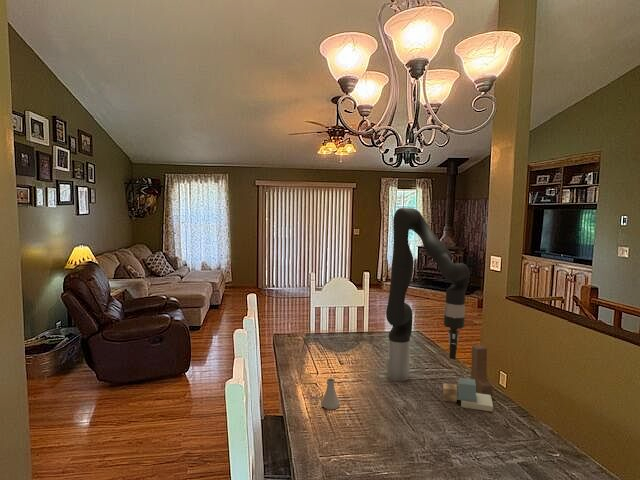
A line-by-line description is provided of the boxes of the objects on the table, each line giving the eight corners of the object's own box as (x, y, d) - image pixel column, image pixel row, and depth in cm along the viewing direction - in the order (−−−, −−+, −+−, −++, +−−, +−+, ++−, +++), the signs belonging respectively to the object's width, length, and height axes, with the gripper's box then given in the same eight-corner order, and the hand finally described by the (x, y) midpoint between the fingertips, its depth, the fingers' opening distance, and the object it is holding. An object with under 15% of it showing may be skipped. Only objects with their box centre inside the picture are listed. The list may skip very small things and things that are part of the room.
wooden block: (492, 396, 160) (493, 352, 159) (481, 396, 159) (483, 352, 158) (480, 386, 169) (481, 344, 167) (470, 387, 168) (471, 345, 167)
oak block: (443, 400, 156) (443, 388, 155) (443, 395, 160) (443, 383, 160) (456, 402, 154) (456, 390, 154) (456, 397, 159) (456, 384, 158)
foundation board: (456, 406, 151) (456, 401, 151) (456, 395, 160) (456, 390, 160) (492, 411, 147) (493, 406, 147) (490, 399, 156) (490, 394, 156)
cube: (458, 398, 152) (459, 383, 152) (458, 392, 158) (458, 377, 158) (475, 401, 150) (475, 385, 150) (474, 394, 156) (475, 379, 156)
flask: (342, 403, 153) (342, 377, 152) (336, 411, 146) (337, 385, 146) (324, 400, 155) (324, 375, 155) (318, 408, 149) (318, 382, 148)
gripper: (444, 309, 163) (442, 348, 164) (444, 318, 149) (442, 360, 150) (464, 311, 160) (462, 350, 162) (465, 320, 147) (463, 362, 148)
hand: (452, 355), depth 156 cm, fingers open, 8 cm apart
